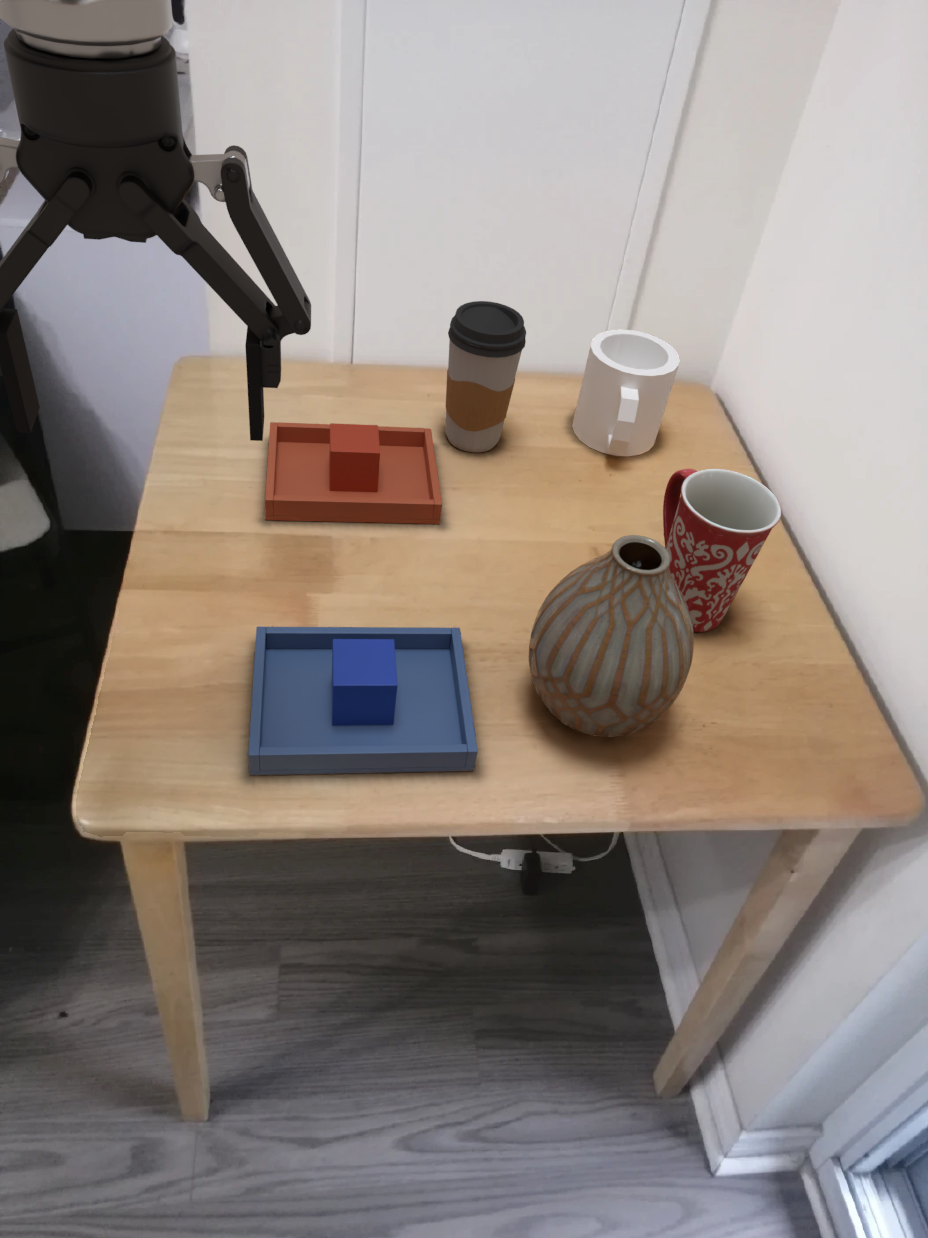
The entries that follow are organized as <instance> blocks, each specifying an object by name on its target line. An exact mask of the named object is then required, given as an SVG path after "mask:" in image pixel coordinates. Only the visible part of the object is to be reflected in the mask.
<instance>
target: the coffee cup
mask: <svg viewBox="0 0 928 1238" xmlns="http://www.w3.org/2000/svg"><path fill="white" fill-rule="evenodd" d="M447 334H448V339H449V341H448V342H449V343H448V361H447V362H448V363H447V367H448V368H447V370H446V387H445V426H444V431H445V435H446V437H447V439H448V442H449V443H450V444H451V445H452V446H453V447H455V448H457V449H458V450H461V451H463V452H468V453H484V452H487V451H491V450H492V449H493V448H495V446H496V445H497V444H498V442H499V441H500V438H501V435H502V431H503V427H504V423H505V419H506V417H507V414H508V411H509V406H510V402H511V398H512V396H513V395H512V394H513V391H514V386H515V383H516V375H517V371H518V367H519V363H520V358H521V354H522V351H523V350H524V349H525V347H526V343H527V341H526V340H527V339H526V337H527V330H526V327H525V319H524V317H523V316H522V314H520V312H518V311H517V310H516V309H514V308H512V307H511V306H508V305H506V304H503V303H499V302H494V301H488V300H486V301H485V300H477V301H470V302H466V303H464V304H462V305H460V306H458V308H457V309H456V310H455V313H454V315H453V317H452V318H451V320H450V323H449V329H448V332H447Z"/></svg>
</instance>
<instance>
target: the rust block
mask: <svg viewBox="0 0 928 1238" xmlns="http://www.w3.org/2000/svg"><path fill="white" fill-rule="evenodd" d="M329 424H330V448H329V486H330V491H355V492H378V479H379V463H380V444H379V431H378V426H379V425H378V424H356V423H335V422H334V423H333V422H332V423H331V422H330V423H329Z"/></svg>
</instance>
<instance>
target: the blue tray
mask: <svg viewBox="0 0 928 1238" xmlns="http://www.w3.org/2000/svg"><path fill="white" fill-rule="evenodd" d="M255 628H256V629H255V642H254V643H255V646H254V662H253V674H252V675H253V676H252V689H251V691H252V692H251V707H250V720H249V721H250V722H249V735H248V736H249V737H248V753H247V759H248V770H249V771H248V773H249V775H250V776H274V775H275V776H279V775H280V776H281V775H283V776H284V775H324V774H325V775H333V774H336V775H337V774H377V773H378V774H379V773H380V774H381V773H382V774H383V773H431V772H433V773H435V772H473V771H475V766H476V763H477V756H478V752H479V750H478V743H477V737H476V736H477V735H476V729H475V723H474V715H473V709H472V702H471V701H472V700H471V694H470V689H469V681H468V675H467V668H466V661H465V654H464V647H463V640H462V634H461V628H460V627H409V626H408V627H401V626H399V627H398V626H397V627H395V626H394V627H389V626H388V627H387V626H382V627H381V626H379V627H378V626H376V627H375V626H256V627H255ZM333 639H394V644H395V657H396V671H397V684H398V686H397V696H396V705H395V715H394V724H393V725H337V726H333V725H332V645H333Z"/></svg>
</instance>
